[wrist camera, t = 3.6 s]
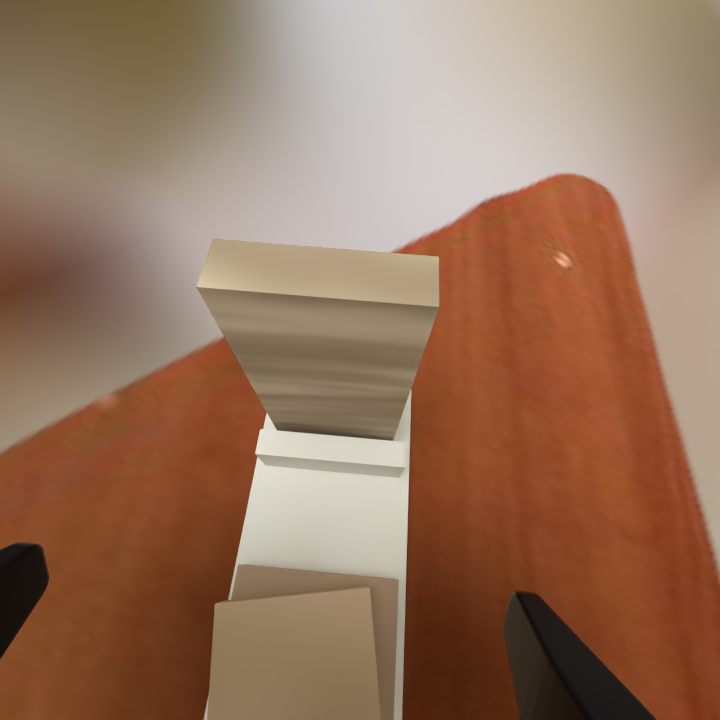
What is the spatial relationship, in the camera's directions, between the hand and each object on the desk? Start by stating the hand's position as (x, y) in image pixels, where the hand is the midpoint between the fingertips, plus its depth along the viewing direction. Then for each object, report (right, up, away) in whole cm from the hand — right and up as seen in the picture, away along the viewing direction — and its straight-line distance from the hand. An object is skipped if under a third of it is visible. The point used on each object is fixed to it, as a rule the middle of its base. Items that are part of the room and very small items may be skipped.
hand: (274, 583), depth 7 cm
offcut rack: (0, -5, +13) cm, 13 cm away
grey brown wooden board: (0, +1, +14) cm, 14 cm away
